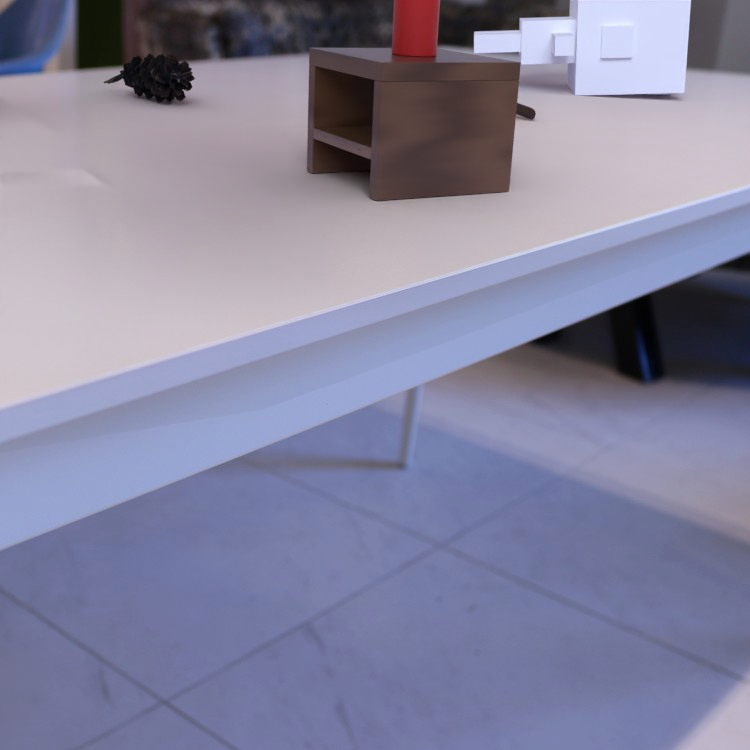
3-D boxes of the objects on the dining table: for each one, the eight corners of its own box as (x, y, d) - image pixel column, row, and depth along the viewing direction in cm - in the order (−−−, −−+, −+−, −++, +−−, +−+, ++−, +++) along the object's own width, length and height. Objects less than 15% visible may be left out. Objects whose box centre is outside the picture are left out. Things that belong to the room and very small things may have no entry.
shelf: (376, 201, 71) (382, 62, 68) (306, 171, 80) (309, 47, 77) (509, 191, 76) (521, 62, 73) (429, 164, 85) (437, 48, 82)
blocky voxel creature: (474, 88, 157) (666, 83, 155) (473, 108, 134) (698, 104, 131) (475, -17, 152) (673, -24, 149) (473, -15, 129) (707, -23, 126)
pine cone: (212, 108, 110) (212, 56, 108) (169, 110, 107) (168, 57, 105) (135, 88, 123) (133, 41, 121) (94, 89, 120) (92, 41, 118)
